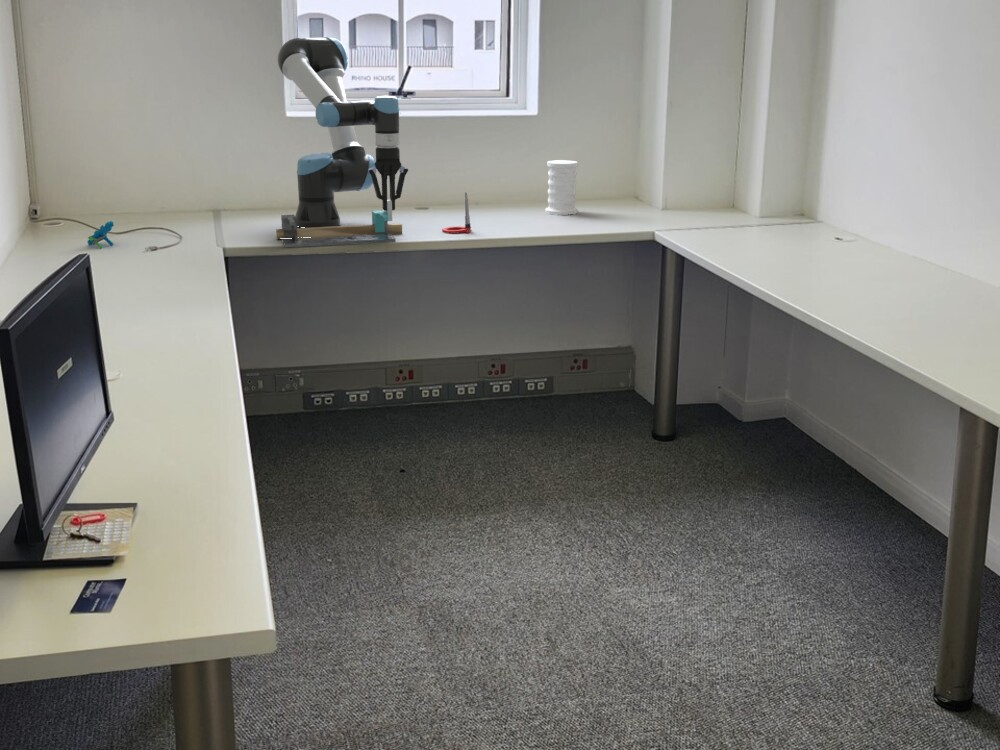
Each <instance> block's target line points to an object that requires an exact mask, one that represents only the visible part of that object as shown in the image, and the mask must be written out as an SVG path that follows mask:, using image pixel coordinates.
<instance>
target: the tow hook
mask: <svg viewBox="0 0 1000 750" xmlns="http://www.w3.org/2000/svg"><path fill="white" fill-rule="evenodd" d="M468 197H469V196H468V191H467V192H464V211H465V212H464V213H465V214H464V215H465V216H464V221H465V222H464V226H448V227H443V228H442V233H445V234H461V233H466V234H469V233H470V232H471V231H472V227H471V219H470V217H471V215H470V207H469V205H470V204H469V198H468Z"/></svg>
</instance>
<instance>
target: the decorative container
mask: <svg viewBox="0 0 1000 750" xmlns="http://www.w3.org/2000/svg"><path fill="white" fill-rule="evenodd" d="M546 163H547V166H546V167H548V172H547V175H548V181H547V185H548V189H547V194H548V197H547V203H548V206H547V207H546V208H544V209H545V211H544V212H546V214H547V213H549V214H548V215H552V214H557V215H556V216H571V215H570V214H573V215H577V214H578V209H579V208H577V207H575V206H576V202H577V199H576V193H577V191H576V185H577V180H576V176H577V171H576V169H577V168H576V167H578V165H579V164H578V163H579V162H578V161H576V160H569V159H566V160H565V159H557V160H556V159H555V160H548V161H547V162H546ZM576 213H577V214H576ZM568 214H569V215H568Z"/></svg>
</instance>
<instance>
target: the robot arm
mask: <svg viewBox="0 0 1000 750" xmlns="http://www.w3.org/2000/svg"><path fill="white" fill-rule="evenodd" d="M348 62H349V61H348V54H347V49H346V48H345V46H344V44H343V43H342V42H341V41H340V40H339V39H337V38H335V37H326V36H325V37H324V36H323V37H295V38H292V39H289V40H287V41H286V42H285V43H284V44H283V45H282V46H281V48H280V49H279V52H278V55H277V65H278V68H279V70H280V72H281V73H282V75H283V76H284V77H285V78H286V79H288V80H289V81H292V82H293V83H294V84H295V85H296V87H297V88H298V89H299V90H300V91H301V93H302V94H303V95H304V96H305V97H306V98H307V100H308V101H309V102H310V103H311V104H312V105H313V106H314V108H315V119H316V120H317V121H316V122H317V124H318V125H319V126H320V127H323V128H324V127H325V128H328V133H329V137H330V141H331V144H332V148H333V150H332V152H331V153H330V152H321V153H311V154H307V155H304V156H301V157H300V158H299V159H298V160H297V163H296V166H297V167H296V168H297V169H296V175H297V188H298V189H297V191H298V205H297V210H296V213H295V216H296V224H297V226H299V227H305V228H312V227H332V226H338V225H339V226H341V217H340V214H339V211H338V209H337V207H336V206H337V205H336V203H335V193H342V192H359V191H363V190H368V189H369V188H371V187H372V185H373V187H374V188H373V189H374V192H375V195H376V198H377V199H379V200H382V201H381V202H382V210H384V211H386V212H387V217H388V222H393V211H395V209H396V200H397V199H400V198H401V196H402V193H403V187H404V183H405V178H406V175H407V174H408V172H409V169H408V168H407V167H405V166H403V165H402V163H401V160H400V159H401V155H400V154H401V153H400V147H399V146H400V107H399V99H398V98H397V96H393V95H380V96H376V97H374V100H372V99H362V100H356V101H355V100H354V101H353V100H352V101H348V99H347V98H348V97H347V95H346V92H345V86H344V83H343V77H344V76H345V71H346V70H347V68H348V64H349V63H348ZM355 126H374V129H375V130H374V133H375V146H376V147H375V158H374V157H373V156H372V155H371V154H367V153H366V151H365V150H366V149H365V147H364V146H362V145H361V144H359V141H358V138H357V133H356V130H355ZM398 171H399V176H398V181H397V186H396V175H397V174H398ZM377 172H378V173H379V174H380V176H381V189H380V185H379V181H378V178H377V177H378V176H377V175H376V174H377ZM388 178H389V199H388ZM299 227H298V228H299Z"/></svg>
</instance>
